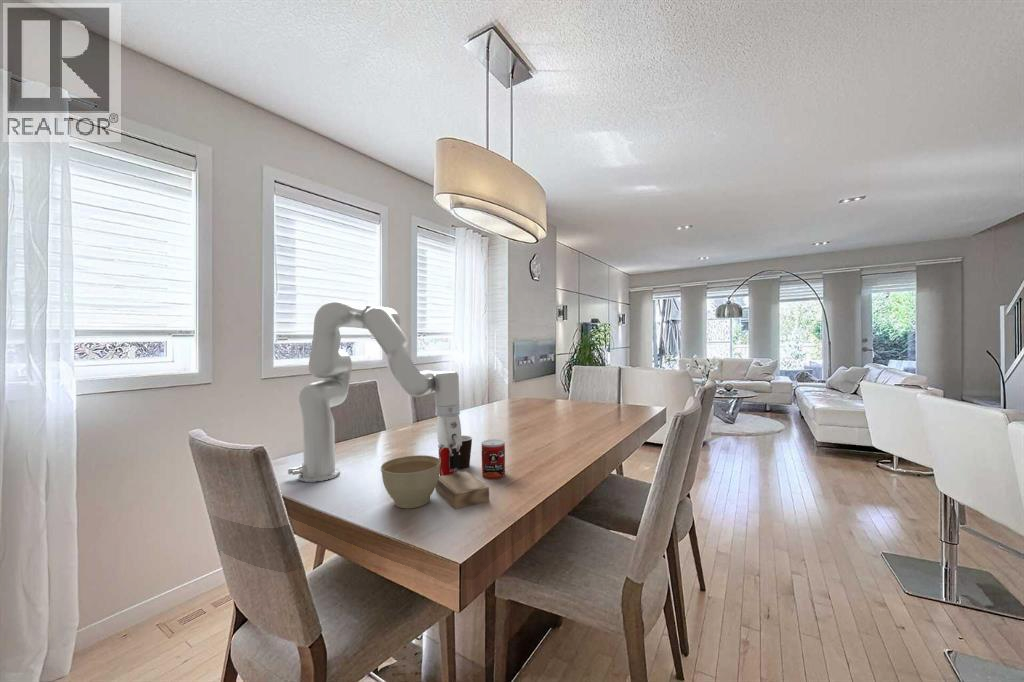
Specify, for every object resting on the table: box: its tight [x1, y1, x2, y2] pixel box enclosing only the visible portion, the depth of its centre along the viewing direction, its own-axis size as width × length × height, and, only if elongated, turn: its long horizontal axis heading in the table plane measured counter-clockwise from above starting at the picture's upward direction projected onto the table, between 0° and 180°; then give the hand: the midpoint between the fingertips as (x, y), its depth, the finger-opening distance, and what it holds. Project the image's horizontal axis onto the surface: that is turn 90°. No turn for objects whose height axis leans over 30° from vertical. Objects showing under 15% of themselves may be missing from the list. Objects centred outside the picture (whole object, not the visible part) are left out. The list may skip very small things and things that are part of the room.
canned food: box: [481, 438, 506, 480], centre depth 137 cm, size 8×8×11 cm
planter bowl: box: [380, 454, 441, 509], centre depth 115 cm, size 16×16×11 cm
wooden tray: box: [435, 470, 490, 510], centre depth 119 cm, size 10×16×4 cm, turn 29°
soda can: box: [438, 445, 458, 476], centre depth 131 cm, size 6×6×12 cm
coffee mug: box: [457, 435, 473, 470], centre depth 148 cm, size 12×9×10 cm
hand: (449, 464), depth 131 cm, fingers open, 9 cm apart
